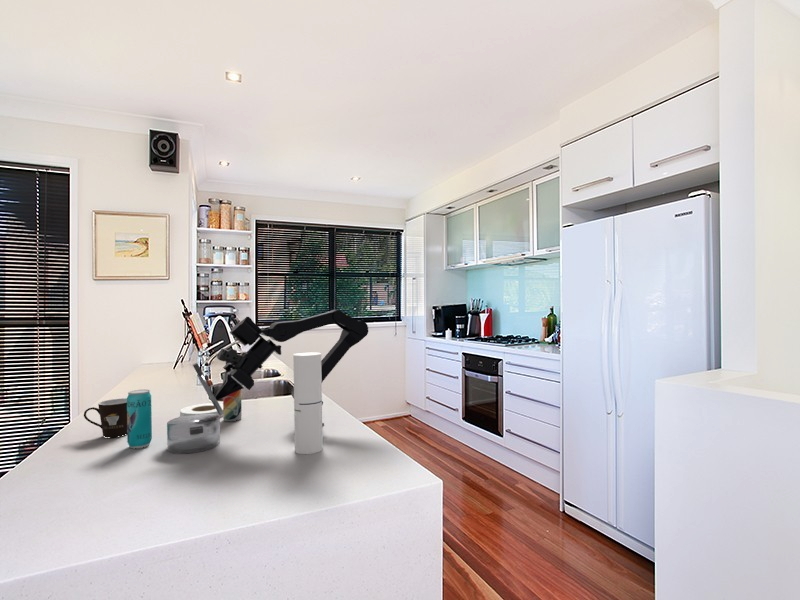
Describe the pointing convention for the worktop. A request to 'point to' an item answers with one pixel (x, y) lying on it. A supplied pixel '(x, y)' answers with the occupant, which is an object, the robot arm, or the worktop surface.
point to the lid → (208, 388)
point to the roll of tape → (200, 409)
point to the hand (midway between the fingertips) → (215, 398)
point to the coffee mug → (111, 417)
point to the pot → (193, 433)
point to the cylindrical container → (308, 402)
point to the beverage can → (139, 418)
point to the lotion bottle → (232, 405)
